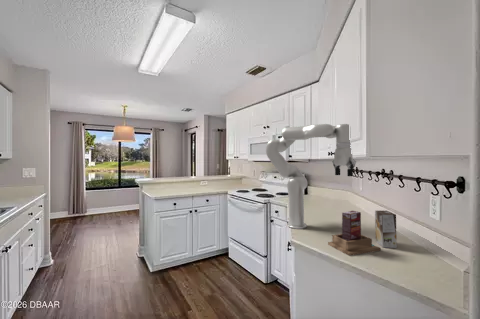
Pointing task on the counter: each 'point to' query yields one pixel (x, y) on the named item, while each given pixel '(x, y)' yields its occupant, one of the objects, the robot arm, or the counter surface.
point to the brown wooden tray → (353, 245)
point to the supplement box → (351, 225)
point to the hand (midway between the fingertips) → (343, 175)
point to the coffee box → (385, 229)
